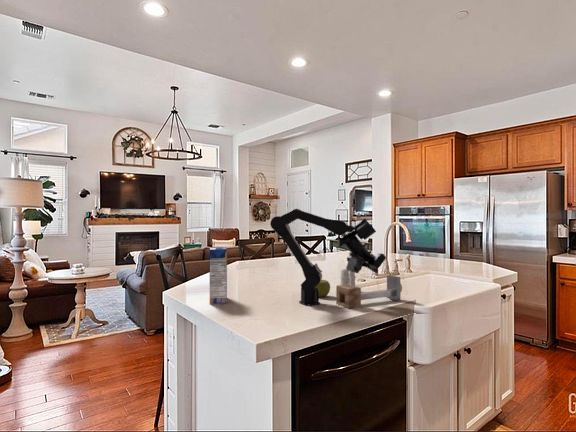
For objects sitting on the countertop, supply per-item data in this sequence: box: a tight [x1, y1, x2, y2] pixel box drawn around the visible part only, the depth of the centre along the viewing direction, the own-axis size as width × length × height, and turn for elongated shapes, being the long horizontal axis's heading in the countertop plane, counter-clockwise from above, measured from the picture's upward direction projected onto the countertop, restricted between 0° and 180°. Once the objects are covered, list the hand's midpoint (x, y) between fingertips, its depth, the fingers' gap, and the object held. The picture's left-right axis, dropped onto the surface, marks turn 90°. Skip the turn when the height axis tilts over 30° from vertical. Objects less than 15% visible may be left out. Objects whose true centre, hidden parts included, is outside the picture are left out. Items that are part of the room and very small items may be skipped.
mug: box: [340, 268, 356, 286], centre depth 168 cm, size 8×12×12 cm, turn 5°
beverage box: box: [209, 246, 228, 305], centre depth 150 cm, size 7×11×22 cm, turn 11°
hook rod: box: [361, 274, 403, 301], centre depth 147 cm, size 24×6×10 cm, turn 116°
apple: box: [316, 279, 331, 298], centre depth 157 cm, size 8×8×7 cm
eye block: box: [335, 284, 362, 309], centre depth 141 cm, size 6×8×8 cm
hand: (376, 272), depth 147 cm, fingers closed
